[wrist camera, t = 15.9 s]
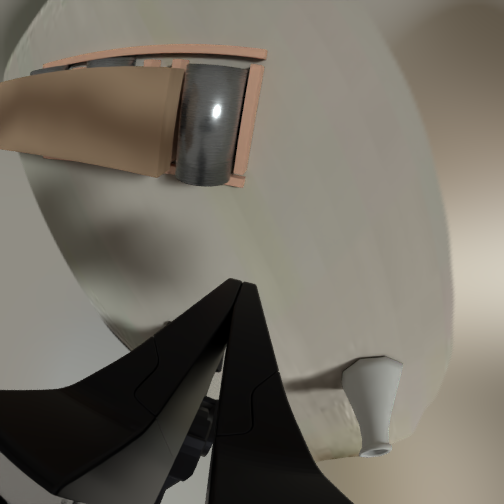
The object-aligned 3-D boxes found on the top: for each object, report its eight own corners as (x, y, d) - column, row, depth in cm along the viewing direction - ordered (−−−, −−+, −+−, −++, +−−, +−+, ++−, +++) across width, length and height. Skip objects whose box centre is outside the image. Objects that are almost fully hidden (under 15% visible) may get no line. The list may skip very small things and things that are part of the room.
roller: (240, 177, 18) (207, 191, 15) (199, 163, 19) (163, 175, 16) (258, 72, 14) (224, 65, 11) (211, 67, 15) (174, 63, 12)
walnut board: (169, 169, 15) (156, 177, 14) (12, 143, 16) (-1, 149, 15) (184, 68, 12) (171, 67, 11) (13, 79, 13) (-1, 82, 11)
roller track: (244, 185, 19) (240, 191, 18) (47, 156, 20) (38, 160, 19) (267, 51, 13) (264, 48, 12) (47, 63, 15) (38, 65, 14)
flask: (355, 350, 26) (358, 441, 17) (413, 357, 25) (426, 439, 17) (331, 385, 30) (327, 461, 21) (383, 390, 29) (387, 461, 21)
